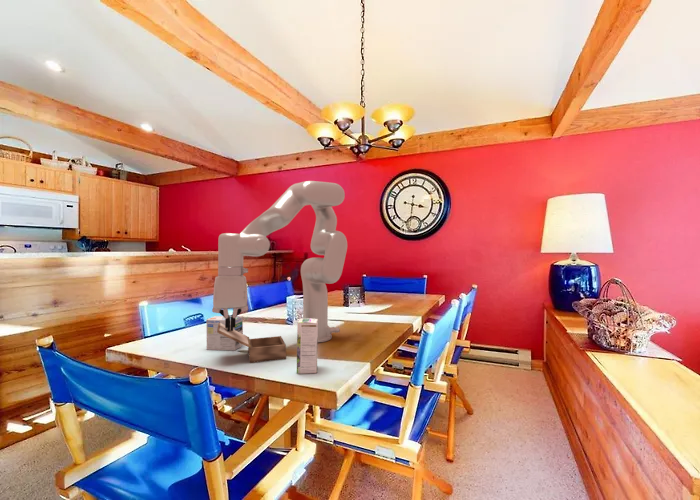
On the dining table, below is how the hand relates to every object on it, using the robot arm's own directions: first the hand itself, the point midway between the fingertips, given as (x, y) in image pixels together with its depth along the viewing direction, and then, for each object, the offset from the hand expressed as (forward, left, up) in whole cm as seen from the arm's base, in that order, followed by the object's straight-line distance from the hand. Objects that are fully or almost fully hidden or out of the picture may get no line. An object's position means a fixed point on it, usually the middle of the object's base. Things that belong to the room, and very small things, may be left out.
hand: (230, 330), depth 102 cm
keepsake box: (-11, 0, -9) cm, 15 cm away
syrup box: (-21, +17, -10) cm, 29 cm away
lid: (-1, 0, -1) cm, 2 cm away
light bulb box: (+2, -14, -10) cm, 17 cm away
